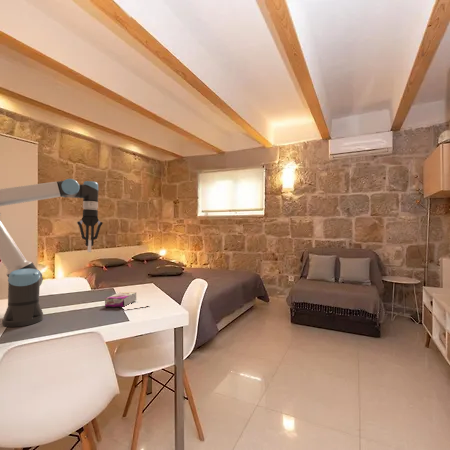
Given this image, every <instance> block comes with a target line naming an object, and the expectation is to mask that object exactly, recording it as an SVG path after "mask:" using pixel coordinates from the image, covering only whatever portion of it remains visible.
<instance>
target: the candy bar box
mask: <svg viewBox="0 0 450 450" xmlns="http://www.w3.org/2000/svg"><path fill="white" fill-rule="evenodd" d="M135 300H136V301H137V292H130V291H129V292H121V291H119V292H117V293H114V294H113V295H110V296H108V297H105V298H104V307H105V308H121V307H125V306H127V305H129V304H130V303H135V302H136V301H135Z"/></svg>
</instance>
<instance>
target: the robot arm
mask: <svg viewBox="0 0 450 450" xmlns="http://www.w3.org/2000/svg"><path fill="white" fill-rule="evenodd" d="M60 197H61V198H71V199H82V218H81V220H79V221H77V222H76V224H77V225H78V227H79V231H80V235H81V239H83V240H85V247H87V252H88V253H91V252H92V247H93V246H94V240H96V239H98V237H99V234H100V230H101V226H103V224H104V223H103V222H102V221H100V220H99V218H98V215H99V211H98V208H99V183H98V182H96V181H94V180H93V181H91V180H85V181H83V183H82V184H81V183H80V184H79V182H78V181H77V180H76V179H73V178H66V179H64V180H59V181H50V182H43V183H34V184H27V185H21V186H20V185H19V186H12V187H5V188H4V187H3V188H0V207H5V206H10V205H11V206H12V205H16V204H22V203H29V202H36V201H43V200H48V199H54V198H60ZM1 215H2V213H1V212H0V216H1ZM83 224H84V225H85V233H84V228H83ZM96 225H97V226H96ZM95 226H96V227H97V228H96V231H95ZM89 231H90V232H89ZM89 233H90V237H89ZM89 238H90V239H89ZM0 261H1V262H2V263H3V265H4V266H5V268H6V269H7V272H6V273H5V274H6V276H7V278H8V279H7V282H8V283H7V284H8V287H7V290H8V291H7V307H6V310H5V312H4V315H3V318H2V323H1V325H2V326H3V327H7V328H15V327H25V326H30V325H34V324H37V323H39V322H41V321H43V319H44V312H43V310H42V306H41V304H40V286H41V285H42V283H43V279H44V278H43V273H42V272H41V271H40V270H39V269H38V268H37V266H35V265H36V264H34V263H33V261H31V260H27V259H26V257H25V256H24V254H23V252H22V251H21V249H20V248H19V246H18V245H17V243H16V242H15V240H14V239H13V237H12V235H11V233H10V232H9V231H8V229H7V228H6V226H5V225H4V223H3V222H2V221H1V219H0Z"/></svg>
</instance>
